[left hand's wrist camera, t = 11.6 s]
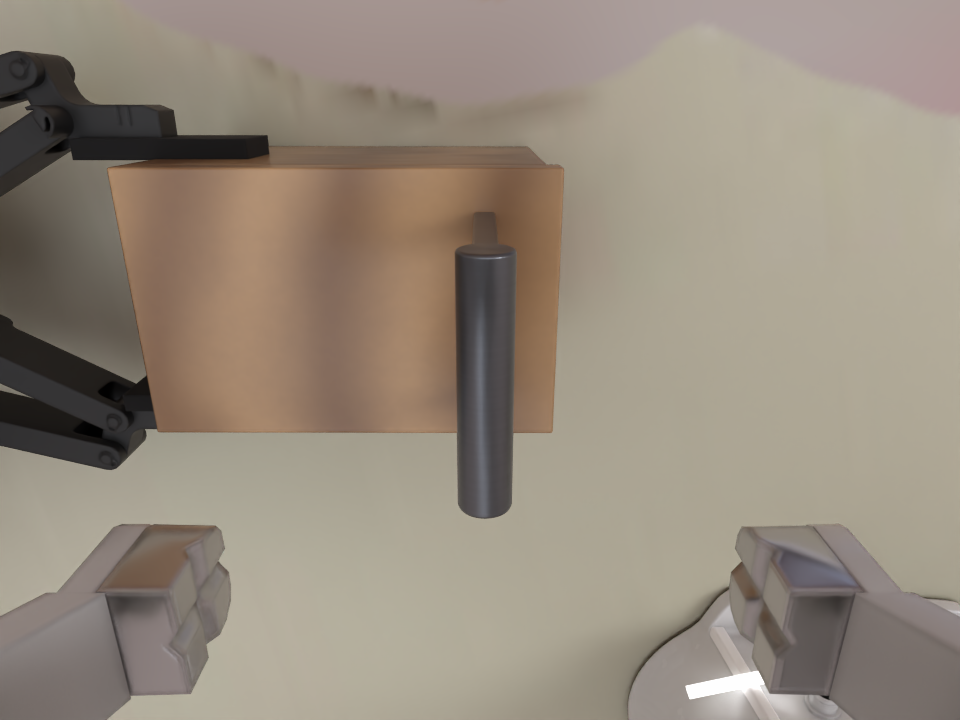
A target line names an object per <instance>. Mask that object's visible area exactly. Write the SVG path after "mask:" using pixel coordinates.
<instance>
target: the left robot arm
mask: <svg viewBox="0 0 960 720" xmlns="http://www.w3.org/2000/svg"><path fill="white" fill-rule="evenodd" d="M224 549H225V547H224V542H223V537H222V532H221V530H220V529H219V528H218V527H216V526H205V525H158V524H154V525H150V524H122V525H119V526H116V527H113V529H112V530H111V531H110V532H109V533H108V534H107V535H106V536H105V538H104V539H103V540H102V541H101V542H100V543H99V545H98V546H97V547H96V548H95V549H94V550H93V551H92V553H91V554H90V555H89V556H88V557H87V558H86V560H85V561H84V562H83V563H82V564H81V565H80V566H79V568H78V569H77V570H76V571H75V572H74V573H73V575H72V576H71V577H70V578H69V579H68V580H67V581H66V583H65V584H64V585H63V586H62V587H61V588H60V589H59V591H58V592H57V593H45V594H43V595H41V596H39V597H37V598H35V599H33V600H31V601H29V602H27V603H25V604H23V605H21V606H20V607H18V608H16V609H14V610H12V611H10V612H8V613H6V614H4V615H2V616H0V720H107V719H108V718H109V717H110V716H111V715H113V714H114V713H115V712H116V711H117V710H118V709H120V708H121V707H122V706H123V705H124V704H125V703H127V702H128V701H129V700H130V699H131V696H136V695H170V694H191V692H192V690H193V688H194V686H195V684H196V682H197V680H198V678H199V676H200V674H201V672H202V670H203V668H204V666H205V664H206V662H207V660H208V658H209V657H208V651H207V646H206V644H207V643H209V642H210V641H212V640H213V639H214V638H216V637H217V636H218V635H220V633H221V631H222V629H223V626H224V624H225V622H226V620H227V616H228V611H229V606H230V602H231V583H230V577H229V572H228V571H227V570H226V569H225V568H224V567H223V566H222V565H221V564H220V563H219V562H218V560H219V558H220V557H221V555H222V553H223V551H224ZM735 549H736V551H737V553H738V555H739V557H740V558H741V560H742V562H741V563H740V564H739V565H738V566H737V567H736V568H735V569H734V570H733V571H732V572H731V577H730V585H729V590H727V591H726V592H724V593H723V594H722V595H720V596H719V597H718V598H717V599H716V600H715V602H714V603H713V604H712V605H711V606H710V608H709V609H708V610H707V611H706V613H705V614H704V615H703V617H702V618H701V620H700V621H699V622H697V623H696V624H695V625H694V626H692V627H691V628H689V629H688V630H686V631H685V632H683V633H681V634H680V635H678V636H676V637H675V638H673V639H672V640H670V641H669V642H667V643H666V644H665V645H664V646H662V647H661V648H660V649H659V650H658V651H657V652H655V653H654V654H653V655H652V656H651V657H650V658H649V660H648V661H647V662H646V663H645V664H644V666H643V667H642V669H641V670H640V671H639V673H638V675H637V677H636V679H635V681H634V683H633V685H632V688H631V691H630V695H629V700H628V719H629V720H960V605H959V604H958V603H957V602H954V601H949V600H938V599H925V598H923V597H921V596H919V595H917V594H915V593H903V592H902V591H901V590H900V588H899V587H898V586H897V585H896V584H895V583H894V581H893V580H892V579H891V578H890V577H889V576H888V575H887V573H886V572H885V571H884V570H883V569H882V568H881V566H880V565H879V564H878V563H877V562H876V561H875V560H874V558H873V557H872V556H871V555H870V554H869V553H868V551H867V550H866V549H865V548H864V547H863V546H862V545H861V543H860V542H859V541H858V540H857V539H856V538H855V537H854V535H853V534H852V533H851V532H850V531H849V530H848V528H846V527H844V526H842V525H840V524H819V525H806V526H743V527H741V529H740V531H739V533H738V535H737V541H736V546H735Z"/></svg>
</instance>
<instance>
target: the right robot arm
mask: <svg viewBox="0 0 960 720" xmlns="http://www.w3.org/2000/svg"><path fill="white" fill-rule="evenodd" d="M74 80H75V72H74V68H73V66H72V65H71V63H70V62H69V61H68V60H67V59H65V58H64V57H61V56H58V55H49V54H40V53H31V52H22V51H11V52H8V53H5V54H2V55H0V109H1V108H4V107H7V106H10V105H14V104H17V103H20V102H23V101H27V100H28V101H29V102H30V104H31V105H30V106H27V107H25V108H26V110H33V111H32V112H30V113H29V114H27V115H26V116H24V117H23V118H21V119H20V120H18V121H17V122H15V123H14V124H12V125H11V126H9V127H8V128H7V129H5V130H4V131H2V132H1V133H0V197H1V196H2V195H4V194H6V193H7V192H9V191H10V190H12V189H13V188H15V187H16V186H18V185H19V184H21V183H22V182H24V181H25V180H27V179H29V178H30V177H32V176H33V175H35V174H36V173H38V172H39V171H41V170H42V169H44V168H45V167H47V166H48V165H50V164H51V163H53V162H55V161H56V160H58V159H59V158H61V157H62V156H64V155H65V154H67V153H68V152H70V151H71V153H72V157H73V160H154V159H251V158H255V157H260V156H264V155H268V154H269V145H268V136H267V135H177V129H176V123H175V116H174V110H172V109H169V108H167V107H164V106H162V105H98V104H94V103H91V102H89V101H88V100H86V99H85V98H84V97H83V96H82V95H81V93H80V92H79V90H78V89H77V87H76V85H75V83H74ZM0 383H1V384H3V385H5V386H8V387H10V388H12V389H14V390H16V391H19V392H21V393H23V394H25V395H28V396H30V397H32V398H30V397H25V396H21V395H17V394H13V393H8V392H4V391H0V446H4V447H9V448H13V449H18V450H22V451H27V452H31V453H35V454H40V455H44V456H49V457H53V458H57V459H62V460H66V461H71V462H75V463H80V464H84V465H88V466H93V467H97V468H102V469H106V470H113V469H116V468H117V467H118V466H120V465H121V464H122V463H123V462H124V461H125V460H126V459H127V458H128V457H129V456H130V455H131V454H132V453H133V452H134V451H135V450H136V449H137V448H138V447H139V446H140V445H141V444H142V443H143V442H144V441H145V439H146V436H147V435H146V431H145V429H157V425H156V420H155V415H154V410H153V404H152V399H151V394H150V389H149V384H148V379H147V376H146V377H144V378H143V379H142V380H141V381H139V382H138V383H137V384H135V383H133V382H131V381H129V380H127V379H124V378H122V377H120V376H118V375H116V374H114V373H111V372H109V371H107V370H105V369H103V368H101V367H98V366H96V365H94V364H92V363H90V362H88V361H85V360H83V359H81V358H79V357H77V356H75V355H72V354H70V353H68V352H66V351H64V350H62V349H59V348H57V347H55V346H53V345H51V344H49V343H46V342H44V341H42V340H40V339H38V338H36V337H33V336H31V335H29V334H27V333H25V332H23V331H20V330H18V329H16V328H15V327H13V322H12V321H11V320H10V319H9V318H7V317H5V316H3V315H1V314H0Z"/></svg>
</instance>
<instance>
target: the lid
mask: <svg viewBox="0 0 960 720" xmlns="http://www.w3.org/2000/svg"><path fill="white" fill-rule="evenodd" d="M107 172H108V177H109V182H110V187H111V193H112V198H113V203H114V208H115V213H116V218H117V224H118V229H119V234H120V239H121V244H122V249H123V255H124V260H125V265H126V270H127V275H128V280H129V286H130V291H131V296H132V301H133V306H134V311H135V317H136V322H137V327H138V332H139V337H140V342H141V348H142V353H143V358H144V363H145V368H146V373H147V379H148V384H149V389H150V394H151V399H152V404H153V410H154V415H155V420H156V425H157V430H158V432H363V433H457V466H458V505H459V507H460V509H461V510H462V511H463V512H464V513H465V514H467V515H469V516H472V517H476V518H484V519H486V518H495V517H498V516H501V515H503V514H505V513H506V512H507V511H508V510H509V508H510V507H511V504H512V466H513V433H552V431H553V410H554V387H555V365H556V342H557V319H558V297H559V274H560V251H561V229H562V206H563V184H564V168H562V167H561V166H560V165H162V164H126V165H120V166H114V167H109V168H107Z"/></svg>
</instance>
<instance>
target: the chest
mask: <svg viewBox="0 0 960 720" xmlns="http://www.w3.org/2000/svg"><path fill="white" fill-rule="evenodd" d="M131 164H162V165H546V164H545V163H544V162H543V161H542V160H541V159H540V158H539V157H538V156H537V155H536V154H535V153H534V152H533V151H532V150H531V149H530V148H528V147H409V146H269V154H268V155H264V156H260V157H255V158H251V159H154V160H148V161H142V162H137V163H131Z"/></svg>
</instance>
